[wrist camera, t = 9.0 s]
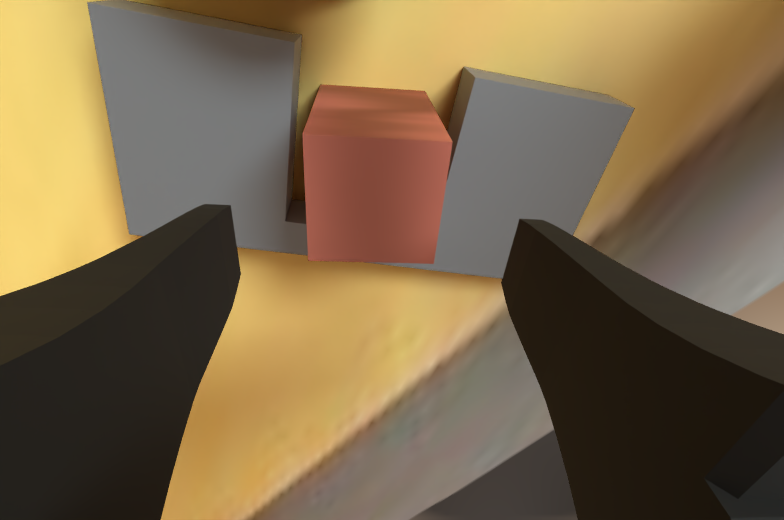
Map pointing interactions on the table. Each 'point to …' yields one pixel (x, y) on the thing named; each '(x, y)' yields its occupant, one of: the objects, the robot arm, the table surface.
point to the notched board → (278, 135)
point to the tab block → (374, 175)
